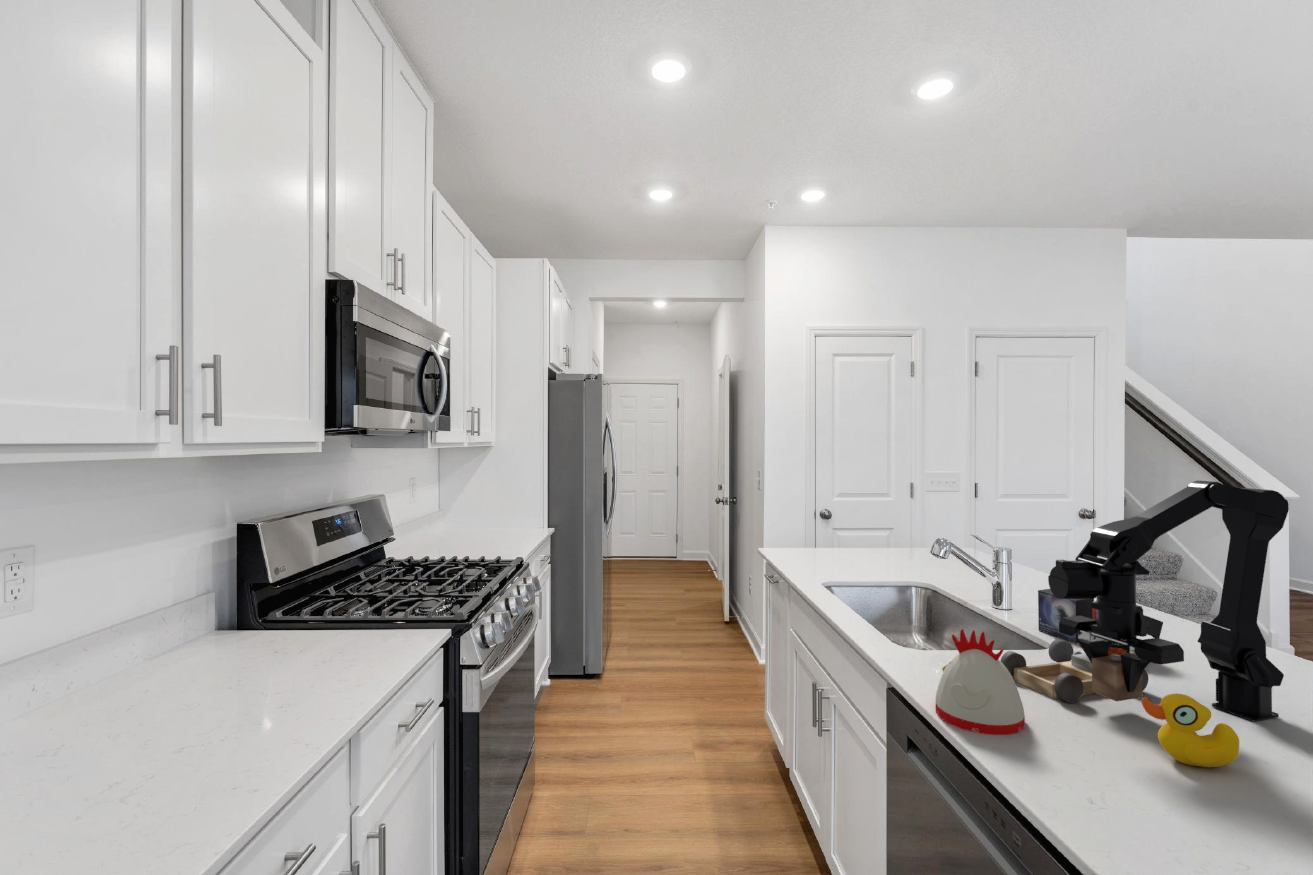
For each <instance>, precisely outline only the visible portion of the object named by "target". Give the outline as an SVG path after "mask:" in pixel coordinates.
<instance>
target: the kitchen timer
mask: <svg viewBox="0 0 1313 875" xmlns="http://www.w3.org/2000/svg"><path fill="white" fill-rule="evenodd" d="M959 633H960V634H959V635H960V637H959V638H957V636H956V635H955V634H954V633H953V634H952V635H951V638H952V641H953V644H954V646H955V648H956V649H957V651H958V653H957V654H956V655H955V656H954V657H953V658H952V659H951V660H950V661H949V662H948V663H947V664H945V665H944V666H943V667H942V668H941V670H942V674H941V677H940V679H939V682H938V685H937V689H936V692H935V714H936V715H937V716H938V717H939V718H940V719H941V720H943V721H944V722H946V723H948V724H950V725H952V726H954V727H956V728H959V729H962V730H965V731H969V732H974V733H977V734H982V735H983V734H984V735H991V736H992V735H994V736H1009V735H1014V734H1018V733H1020V732H1021V731H1023V730H1024V728H1025V726H1026V725H1025V724H1026V719H1025V717H1026V716H1025V710H1024V709H1025V708H1024V705H1023V701H1022V699H1021V696H1020V692H1019V690H1018V688H1017V684H1016V681H1014V677H1012V676H1011V674H1010V673H1009V671H1008V670H1007V668H1006V667H1005V666H1004V665H1003V663H1002V662H1001V657H1002V655H1003V652H1004V647H1002V648H1001V649H1000V651H999V652H997V653H994V652H993V647H994V644H995V639H992V640H991V641H990V642H989V644H987V642H986V635H985V634H986V633H985V631H984V630H983V631H982V632H981V633H980V637H979V640H978V641H977V636H976V631H975V629H973V630H972V632H971V635H970V637H969V641H968V639H967V636H966V633H965V631H964V629H963V628H962V629H960V631H959Z"/></svg>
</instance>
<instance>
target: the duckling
mask: <svg viewBox="0 0 1313 875" xmlns="http://www.w3.org/2000/svg"><path fill="white" fill-rule="evenodd" d="M1141 705H1142V707H1143V709H1144V711H1145V712H1146V713H1147V715H1149V716H1151V717H1152V718H1154V719H1157V720H1161V721H1162V720H1163V721H1166V723H1165V724H1163V725H1162V726H1160V728H1159V729H1158V732H1157V739H1158V741H1159V744H1160V746H1161V747H1162V748H1163V749H1164V750H1165V751H1166V752H1167V753H1168V754H1169V756H1171V757H1172V758H1173V759H1174V760H1176V761H1177V762H1179V763H1181V764H1184V765H1186V766H1187V765H1188V766H1194V767H1202V768H1216V767H1222V766H1227V765H1230V764H1232V763H1233V762H1235V761H1236V759H1238V758H1237V757H1238V756H1239V751H1240V739H1239V736H1238V734H1237V733H1236V731H1235V730H1234V729H1233V728H1232V727H1231V726H1230V725H1228V724H1226V723H1222V722H1221V723H1217V724H1216V725H1215V726H1214V728H1213V730H1212V731H1211V732H1212V733H1211V734H1209V733H1208V734H1204V735H1199V734H1198V733H1197V732H1198V731H1201V730H1202V729H1204V727H1205V726H1206V725H1207V723H1208V722H1209V721H1210V719H1211V718H1212V711H1211V710H1210V708H1208V707H1207V706H1205V705H1204V704H1202V703H1200V702H1199V701H1197V700H1196V699H1194V698H1193V697H1191V696H1189V695H1186V694H1183V693H1171V694H1167V695H1165V696H1163V697H1162V698H1161V700H1160V703H1159V704H1156V703H1154V702H1152V701H1150V700H1149V699H1148V697H1146V696H1143V697H1142V699H1141Z"/></svg>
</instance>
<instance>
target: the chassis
mask: <svg viewBox="0 0 1313 875" xmlns="http://www.w3.org/2000/svg"><path fill="white" fill-rule="evenodd" d="M1000 661H1001V662H1002V663H1003V665H1004V666H1005V667H1006V668H1007V670H1008V671H1009V673H1010V674H1011V676H1012V678H1013V680H1014V682H1015V683H1016V682H1017V683H1019V684H1021V685H1024V686H1026V687H1028V688H1030V689H1032V690H1034V691H1036V692H1039V693H1041V694H1043V695H1046V696H1048V697H1050V698H1053V699H1054V700H1064V701H1066V702H1068V703H1071V704H1072V703H1077V702H1078V701H1079V700H1080V699H1081V697H1082V696H1087V695H1088V696H1089V695H1095V694H1097V693H1095V692H1092V664H1091V662H1090V660H1089V658H1088V657H1087V655H1086V654H1085V653H1082V652H1081V651H1079V650H1077V651H1074V653H1073V655H1071V661H1067V662H1049V663H1043V664H1036V665H1034V664H1033V665H1027V661H1026V658H1025V657H1024V656H1023V655H1022V654H1020V653H1017V652H1015V651H1011V650H1008V651H1006V652H1004V654H1002V655H1001V657H1000ZM1142 680H1143V691H1145V689H1146V688H1147V686H1148V685H1149V684H1148V683H1149V674H1148V671H1147V670H1146V669H1145V670H1144V672H1143V674H1142Z"/></svg>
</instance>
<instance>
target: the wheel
mask: <svg viewBox="0 0 1313 875" xmlns="http://www.w3.org/2000/svg"><path fill="white" fill-rule="evenodd" d="M1074 652H1075V651H1074V647H1073V645H1072V643H1070V642H1069V641H1067V640H1066V641H1065V640H1064V639H1063V640H1062V639H1058V638H1056V639H1054V640H1053V641H1052V642H1051V643H1050V644H1049V647H1048V655H1049V658H1050V660H1052V661H1053V662H1054V663H1057V662H1067V661H1071V655H1073V653H1074Z"/></svg>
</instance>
